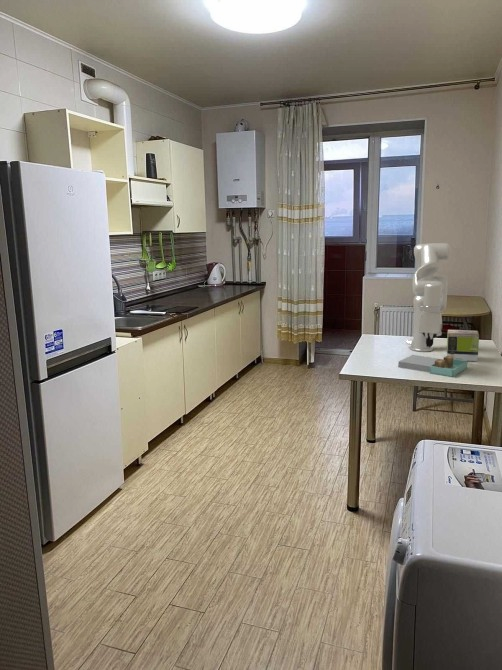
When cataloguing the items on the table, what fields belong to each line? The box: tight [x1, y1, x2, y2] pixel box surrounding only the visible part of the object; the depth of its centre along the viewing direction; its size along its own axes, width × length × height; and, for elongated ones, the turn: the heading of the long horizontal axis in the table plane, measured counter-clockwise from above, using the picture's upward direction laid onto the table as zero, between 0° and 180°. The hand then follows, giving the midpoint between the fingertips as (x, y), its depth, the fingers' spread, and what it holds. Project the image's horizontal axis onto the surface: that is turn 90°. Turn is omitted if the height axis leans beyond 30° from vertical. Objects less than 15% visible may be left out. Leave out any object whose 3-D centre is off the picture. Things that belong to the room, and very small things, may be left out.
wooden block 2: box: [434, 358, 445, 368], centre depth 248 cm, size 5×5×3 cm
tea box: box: [446, 329, 480, 362], centre depth 271 cm, size 15×10×15 cm, turn 71°
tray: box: [429, 359, 469, 378], centre depth 250 cm, size 11×20×4 cm, turn 140°
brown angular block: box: [443, 355, 453, 368], centre depth 254 cm, size 5×5×3 cm
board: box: [398, 354, 444, 373], centre depth 259 cm, size 16×17×3 cm
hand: (429, 346), depth 251 cm, fingers closed
